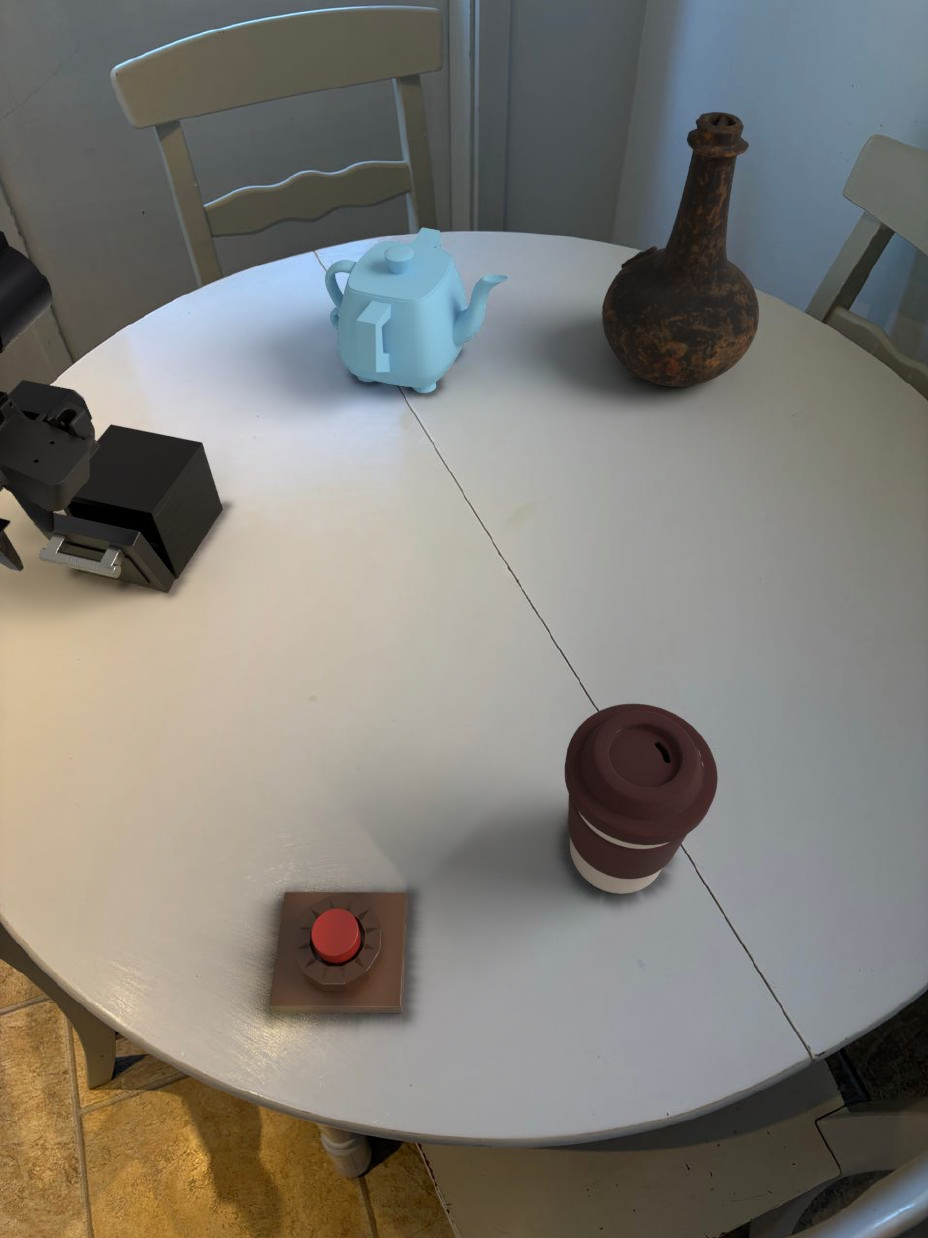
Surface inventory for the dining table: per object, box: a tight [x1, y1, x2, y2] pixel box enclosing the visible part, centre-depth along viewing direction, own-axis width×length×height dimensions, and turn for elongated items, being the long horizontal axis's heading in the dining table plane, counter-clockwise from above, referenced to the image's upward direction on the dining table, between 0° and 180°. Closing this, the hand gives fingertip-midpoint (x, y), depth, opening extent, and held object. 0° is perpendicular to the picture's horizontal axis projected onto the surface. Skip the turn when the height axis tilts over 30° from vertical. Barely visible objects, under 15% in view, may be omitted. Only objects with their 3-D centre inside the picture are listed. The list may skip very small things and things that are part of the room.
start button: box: [311, 909, 361, 963], centre depth 61 cm, size 3×3×2 cm
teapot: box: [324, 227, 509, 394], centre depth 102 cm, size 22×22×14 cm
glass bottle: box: [601, 111, 760, 388], centre depth 97 cm, size 18×18×28 cm
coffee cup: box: [564, 703, 719, 895], centre depth 63 cm, size 10×10×15 cm
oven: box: [62, 423, 224, 580], centre depth 87 cm, size 10×10×9 cm
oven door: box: [33, 512, 176, 593], centre depth 82 cm, size 4×10×9 cm, turn 74°
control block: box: [269, 891, 409, 1014], centre depth 63 cm, size 9×8×4 cm
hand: (33, 549), depth 73 cm, fingers open, 4 cm apart
